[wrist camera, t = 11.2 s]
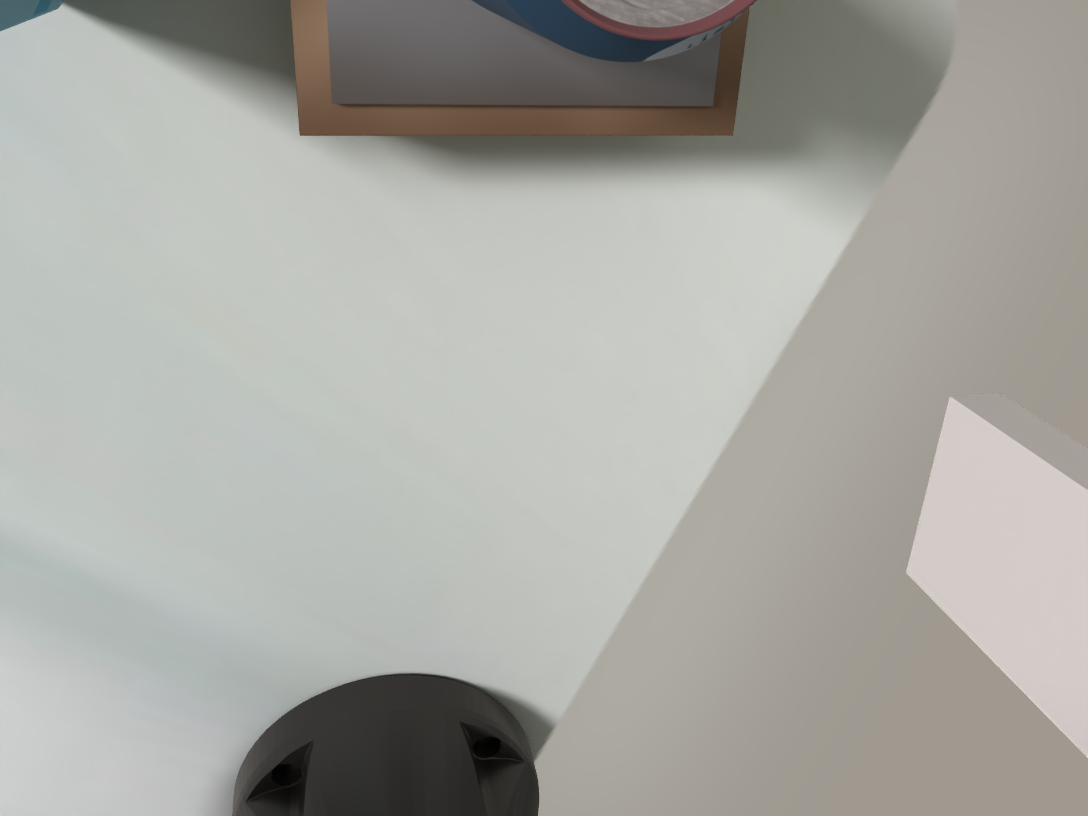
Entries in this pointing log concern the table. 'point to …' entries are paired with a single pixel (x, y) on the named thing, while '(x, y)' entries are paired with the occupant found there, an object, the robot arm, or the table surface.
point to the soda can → (622, 24)
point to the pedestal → (493, 76)
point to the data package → (24, 10)
